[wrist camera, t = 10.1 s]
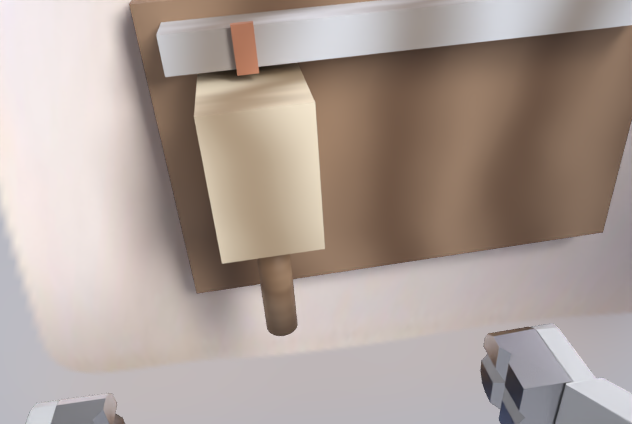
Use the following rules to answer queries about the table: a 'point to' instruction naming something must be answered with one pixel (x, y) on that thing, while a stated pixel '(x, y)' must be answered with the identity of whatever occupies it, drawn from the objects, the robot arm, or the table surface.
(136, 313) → the table surface
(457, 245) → the walnut board
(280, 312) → the wooden mallet
